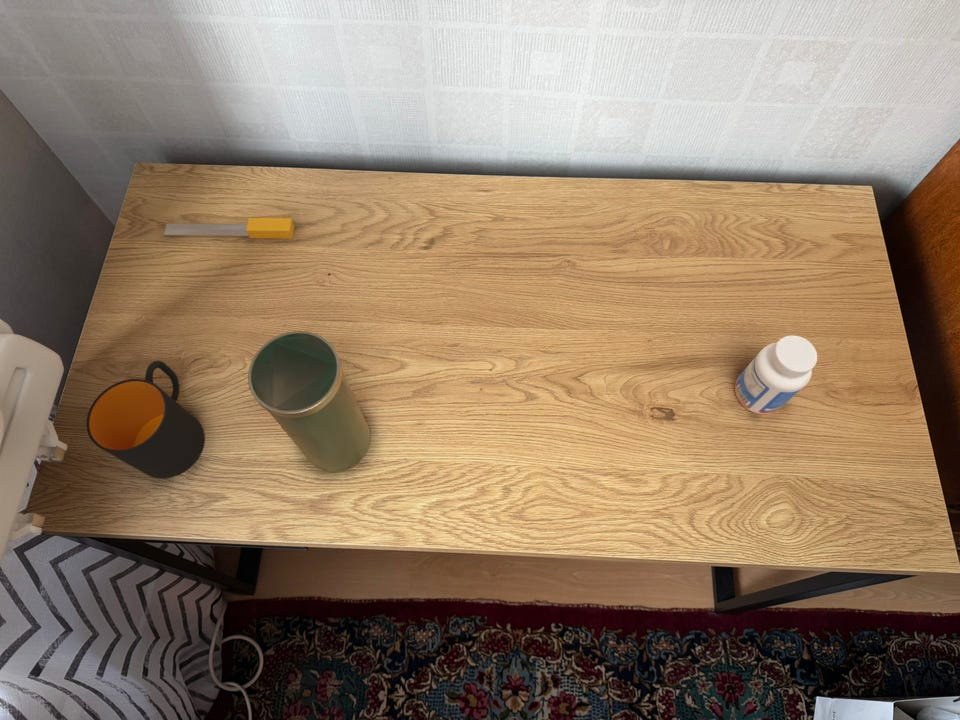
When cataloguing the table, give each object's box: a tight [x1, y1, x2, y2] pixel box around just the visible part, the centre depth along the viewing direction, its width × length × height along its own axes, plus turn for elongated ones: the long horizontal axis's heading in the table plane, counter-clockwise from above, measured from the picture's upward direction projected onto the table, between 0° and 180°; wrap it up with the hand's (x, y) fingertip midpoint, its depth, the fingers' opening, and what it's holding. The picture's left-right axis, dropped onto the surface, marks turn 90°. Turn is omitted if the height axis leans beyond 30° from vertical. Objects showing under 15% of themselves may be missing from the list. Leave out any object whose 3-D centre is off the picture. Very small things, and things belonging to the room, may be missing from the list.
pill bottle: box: [734, 335, 818, 415], centre depth 74 cm, size 6×6×11 cm
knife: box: [163, 217, 296, 240], centre depth 88 cm, size 18×2×2 cm, turn 89°
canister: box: [247, 330, 372, 473], centre depth 67 cm, size 8×8×20 cm
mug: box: [85, 360, 205, 480], centre depth 72 cm, size 8×12×10 cm
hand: (46, 489), depth 54 cm, fingers open, 5 cm apart
